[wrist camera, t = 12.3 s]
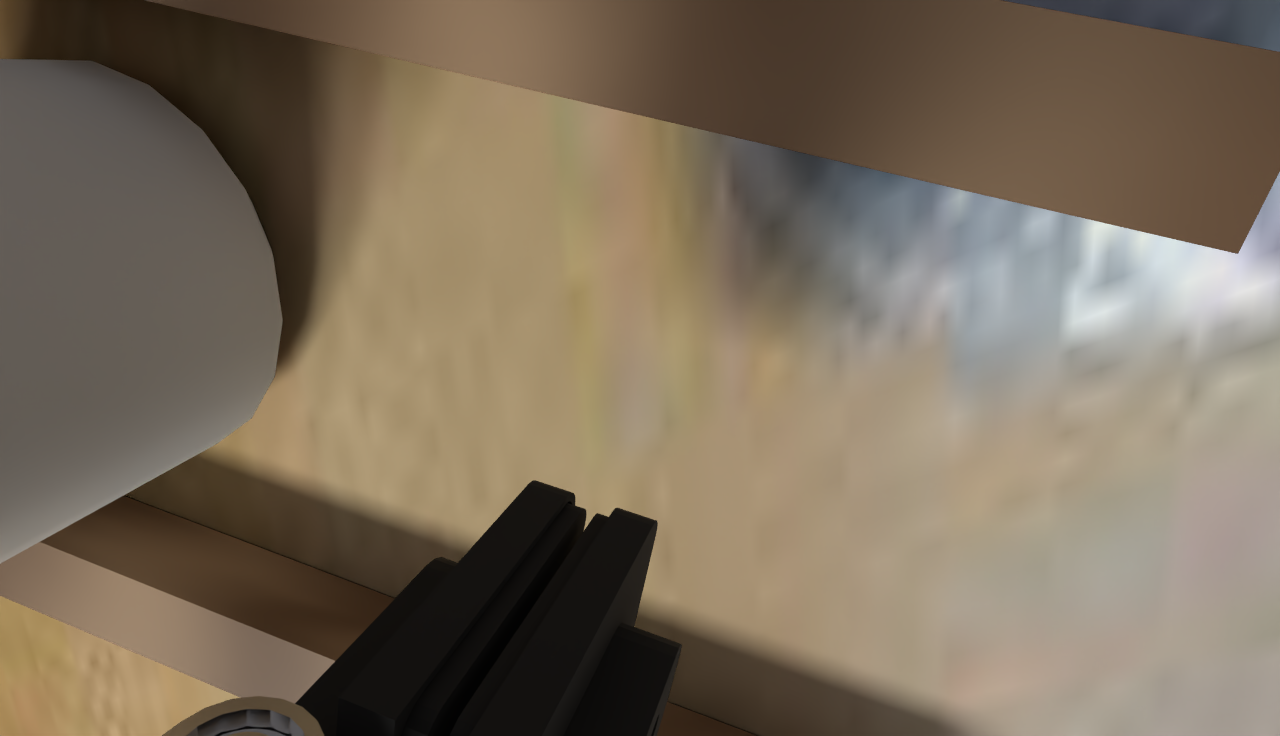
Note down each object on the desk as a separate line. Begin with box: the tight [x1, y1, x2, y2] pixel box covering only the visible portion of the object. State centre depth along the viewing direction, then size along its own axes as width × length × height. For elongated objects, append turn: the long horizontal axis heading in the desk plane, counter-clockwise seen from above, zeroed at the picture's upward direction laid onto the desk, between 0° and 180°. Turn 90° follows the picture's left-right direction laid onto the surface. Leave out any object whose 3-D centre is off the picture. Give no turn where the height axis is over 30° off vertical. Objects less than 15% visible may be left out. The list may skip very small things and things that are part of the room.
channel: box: [0, 0, 1280, 736], centre depth 13 cm, size 24×15×4 cm, turn 79°
